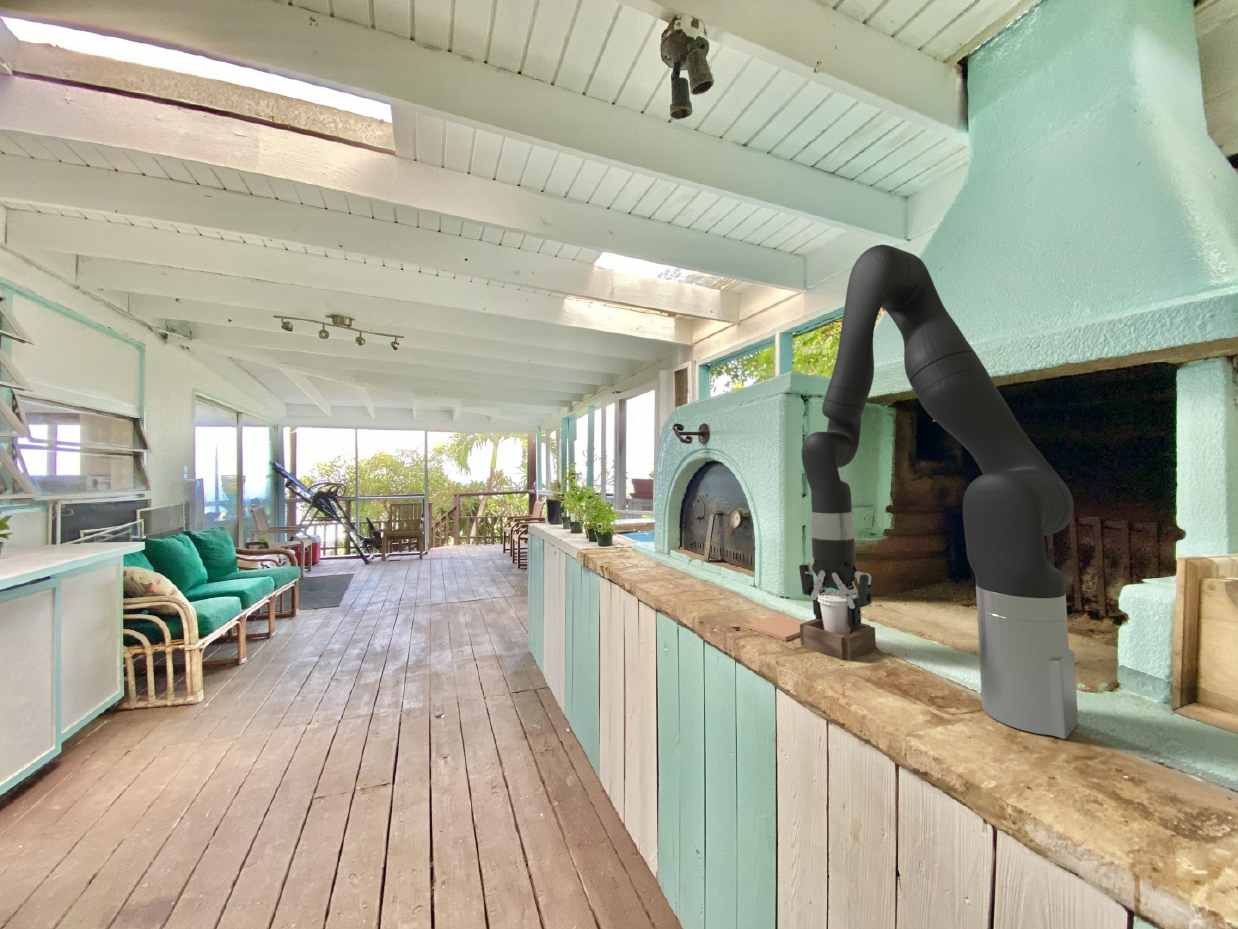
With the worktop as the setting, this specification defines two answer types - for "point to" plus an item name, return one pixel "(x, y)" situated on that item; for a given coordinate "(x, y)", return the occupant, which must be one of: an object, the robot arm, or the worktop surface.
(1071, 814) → the worktop surface
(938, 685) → the worktop surface
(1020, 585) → the robot arm
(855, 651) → the wooden storage tray
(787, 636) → the terracotta tile
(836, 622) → the smoothie
